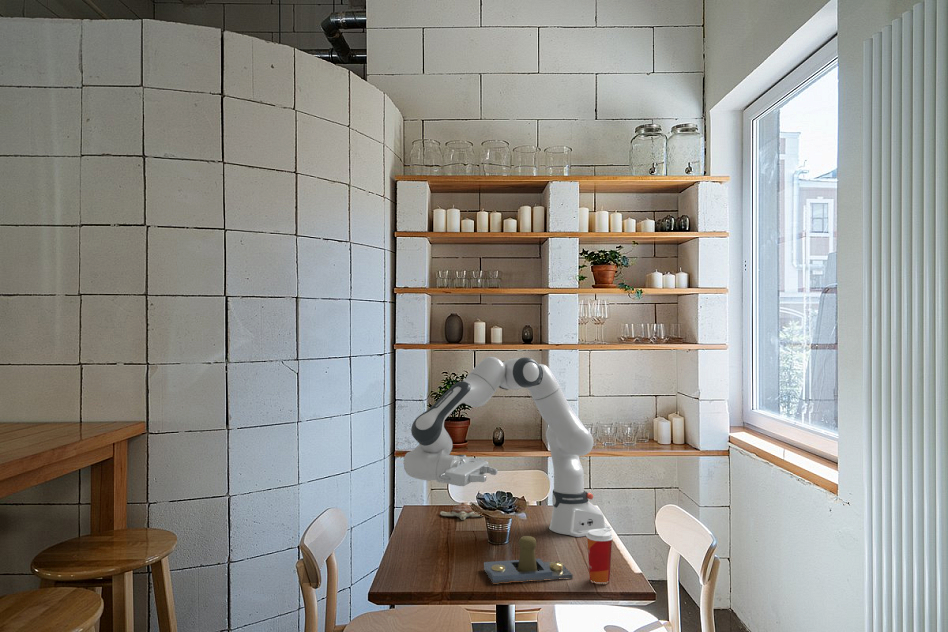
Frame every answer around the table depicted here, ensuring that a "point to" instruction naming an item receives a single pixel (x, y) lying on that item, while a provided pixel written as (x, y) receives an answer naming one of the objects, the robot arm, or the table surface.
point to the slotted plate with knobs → (508, 572)
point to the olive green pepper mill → (527, 554)
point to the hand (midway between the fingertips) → (491, 475)
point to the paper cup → (599, 554)
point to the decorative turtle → (460, 511)
